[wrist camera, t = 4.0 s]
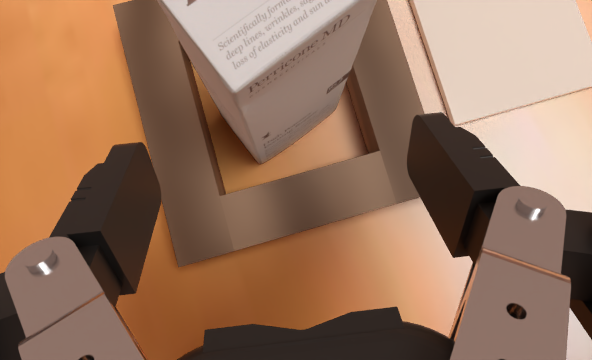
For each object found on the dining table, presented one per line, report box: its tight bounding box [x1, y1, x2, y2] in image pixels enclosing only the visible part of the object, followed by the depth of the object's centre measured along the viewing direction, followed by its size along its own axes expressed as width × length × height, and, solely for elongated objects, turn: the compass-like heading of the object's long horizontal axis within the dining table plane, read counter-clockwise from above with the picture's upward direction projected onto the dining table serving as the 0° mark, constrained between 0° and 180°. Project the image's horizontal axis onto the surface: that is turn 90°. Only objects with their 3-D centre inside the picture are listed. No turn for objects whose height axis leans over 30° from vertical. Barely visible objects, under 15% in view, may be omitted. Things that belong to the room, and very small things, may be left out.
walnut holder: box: [113, 0, 424, 267], centre depth 22 cm, size 15×15×2 cm
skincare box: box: [157, 0, 377, 164], centre depth 17 cm, size 6×4×12 cm
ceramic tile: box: [409, 0, 592, 126], centre depth 24 cm, size 10×10×1 cm
